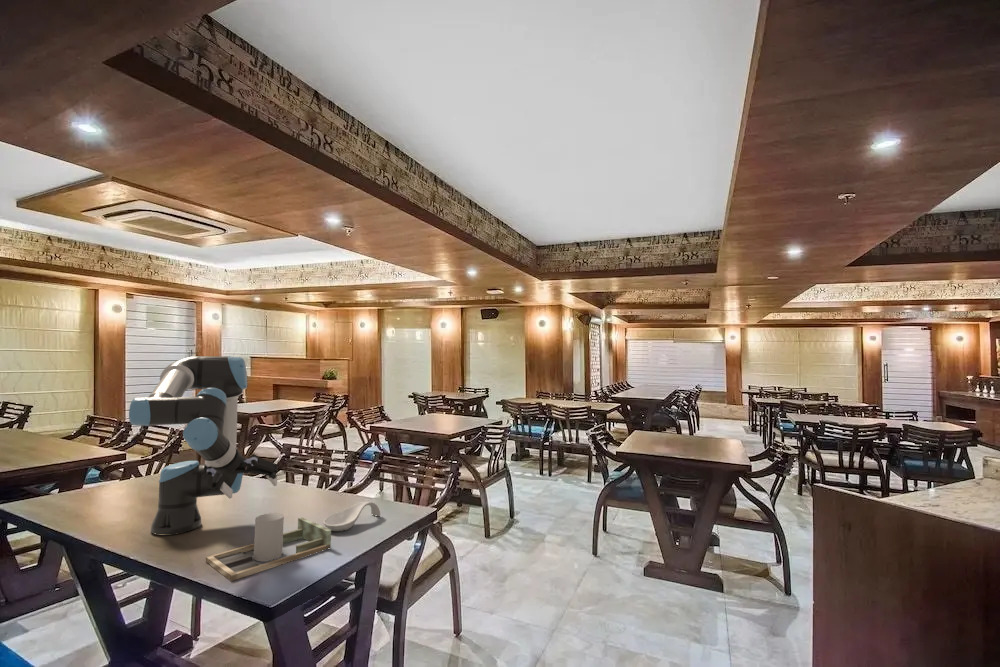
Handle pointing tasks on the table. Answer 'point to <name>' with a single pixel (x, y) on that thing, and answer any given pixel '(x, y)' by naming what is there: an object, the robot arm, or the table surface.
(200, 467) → the robot arm
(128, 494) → the table surface
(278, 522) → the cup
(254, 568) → the wooden tray frame
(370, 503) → the spoon rest
